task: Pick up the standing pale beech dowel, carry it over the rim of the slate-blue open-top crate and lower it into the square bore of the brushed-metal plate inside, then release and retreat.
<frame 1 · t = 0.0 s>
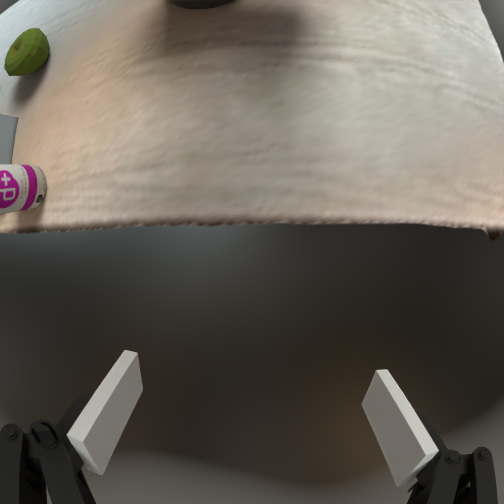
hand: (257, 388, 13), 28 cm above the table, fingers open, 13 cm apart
apple: (41, 60, 31), on the table
supplement can: (35, 186, 38), on the table
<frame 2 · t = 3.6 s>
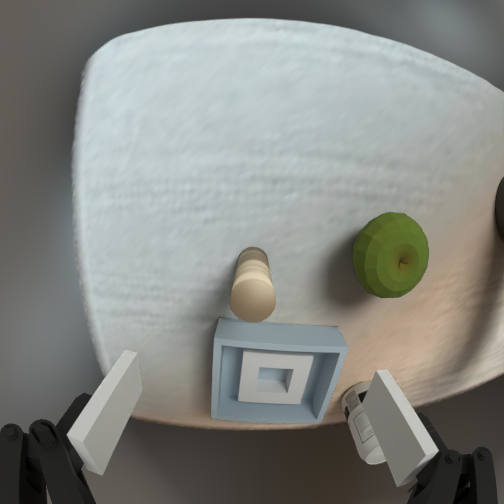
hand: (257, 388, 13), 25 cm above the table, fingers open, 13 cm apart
crate: (272, 365, 41), on the table
peg: (253, 261, 37), on the table
apple: (372, 245, 37), on the table
supplement can: (360, 394, 43), on the table
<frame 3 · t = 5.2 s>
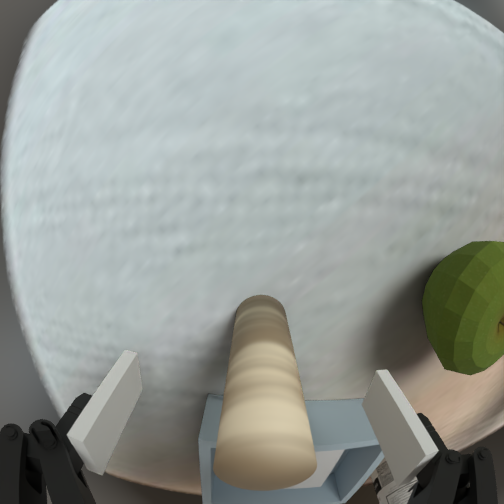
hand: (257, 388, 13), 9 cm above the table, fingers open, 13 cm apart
crate: (286, 445, 25), on the table
peg: (260, 318, 21), on the table
apple: (442, 284, 21), on the table
supplement can: (393, 457, 27), on the table
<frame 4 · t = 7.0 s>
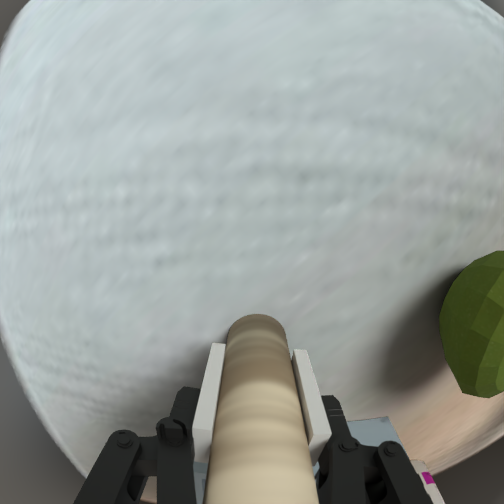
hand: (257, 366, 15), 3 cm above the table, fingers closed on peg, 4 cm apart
crate: (284, 466, 22), on the table
peg: (256, 339, 18), on the table, touching gripper
apple: (459, 296, 18), on the table
supplement can: (396, 472, 24), on the table
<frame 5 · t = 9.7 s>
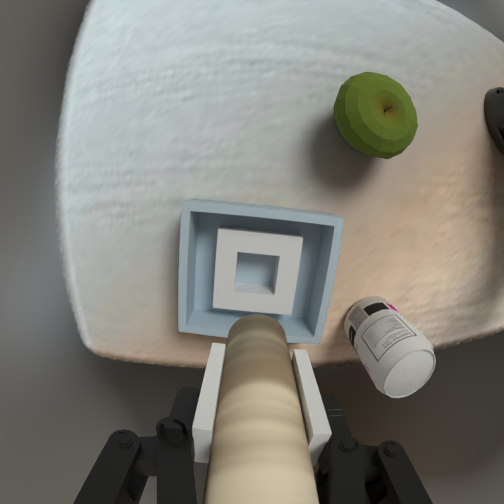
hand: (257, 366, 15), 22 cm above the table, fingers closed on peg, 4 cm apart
crate: (256, 265, 37), on the table
peg: (256, 339, 18), point 19 cm above the table, touching gripper
apple: (358, 124, 32), on the table
supplement can: (366, 318, 39), on the table
when the fingers open (6 cm above the table, at t = 12.5 s): peg drops 2 cm, resting on crate.
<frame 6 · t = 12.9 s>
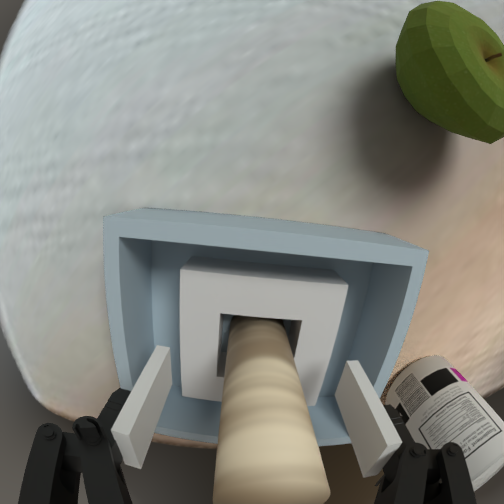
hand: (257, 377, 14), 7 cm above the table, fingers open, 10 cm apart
crate: (256, 322, 21), on the table
peg: (256, 328, 20), point 1 cm above the table, touching crate
apple: (422, 89, 16), on the table
supplement can: (415, 382, 23), on the table
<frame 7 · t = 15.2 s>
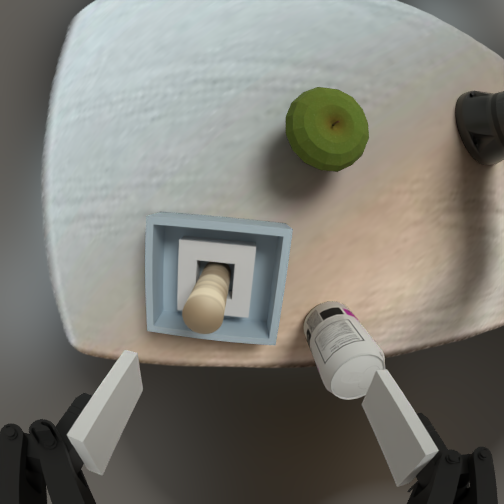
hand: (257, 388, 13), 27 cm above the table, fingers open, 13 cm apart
crate: (217, 271, 40), on the table
peg: (217, 273, 39), point 1 cm above the table, touching crate
apple: (315, 137, 36), on the table
supplement can: (326, 321, 42), on the table
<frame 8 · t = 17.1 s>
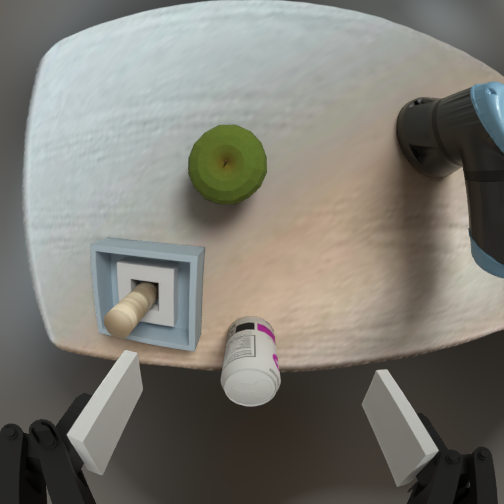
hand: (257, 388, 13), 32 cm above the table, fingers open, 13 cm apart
crate: (152, 286, 45), on the table
peg: (151, 288, 45), point 1 cm above the table, touching crate
apple: (230, 167, 41), on the table
supplement can: (251, 333, 48), on the table
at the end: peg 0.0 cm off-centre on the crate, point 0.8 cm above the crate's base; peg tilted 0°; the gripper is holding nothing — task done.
